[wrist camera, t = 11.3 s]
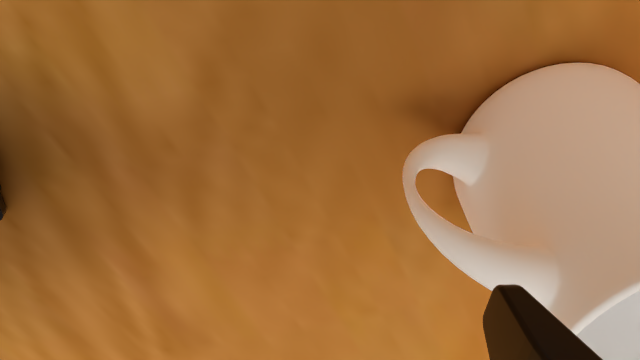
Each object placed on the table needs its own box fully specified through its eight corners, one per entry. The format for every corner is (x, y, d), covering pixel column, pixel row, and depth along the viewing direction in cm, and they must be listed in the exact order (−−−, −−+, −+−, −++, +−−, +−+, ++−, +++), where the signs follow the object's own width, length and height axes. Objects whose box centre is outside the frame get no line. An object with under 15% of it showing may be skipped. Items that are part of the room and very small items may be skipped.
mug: (421, 8, 20) (535, 195, 11) (686, 81, 22) (940, 275, 14) (348, 189, 25) (389, 414, 16) (573, 230, 27) (709, 440, 19)
